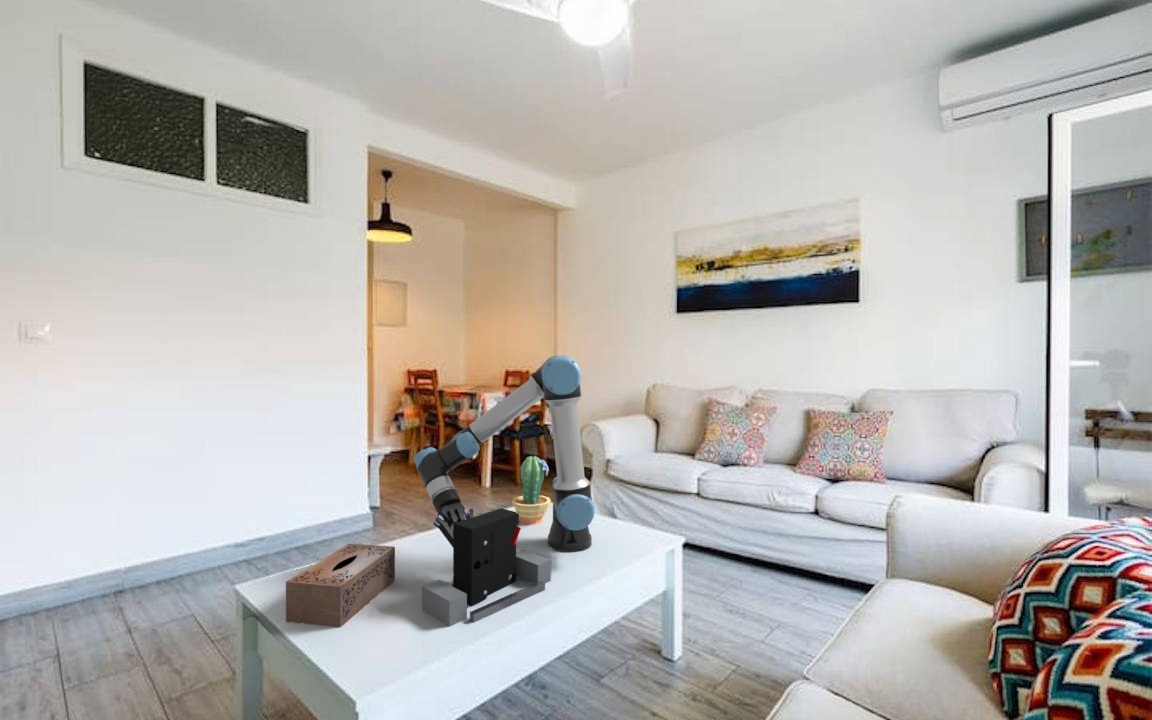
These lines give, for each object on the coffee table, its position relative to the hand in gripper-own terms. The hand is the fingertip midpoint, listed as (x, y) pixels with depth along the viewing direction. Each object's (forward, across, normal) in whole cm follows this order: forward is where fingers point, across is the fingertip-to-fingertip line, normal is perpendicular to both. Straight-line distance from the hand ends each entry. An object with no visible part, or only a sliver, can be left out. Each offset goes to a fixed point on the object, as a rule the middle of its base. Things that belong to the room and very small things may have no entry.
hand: (477, 566), depth 144 cm
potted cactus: (-19, -50, -27) cm, 60 cm away
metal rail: (+14, 0, +5) cm, 15 cm away
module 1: (+8, +14, 0) cm, 17 cm away
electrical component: (+6, -1, -3) cm, 7 cm away
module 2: (+8, -15, 0) cm, 17 cm away
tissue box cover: (-9, +28, -19) cm, 35 cm away
